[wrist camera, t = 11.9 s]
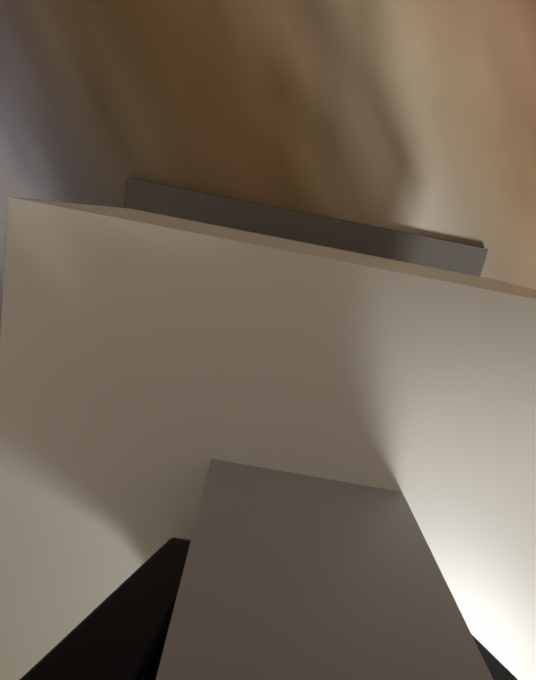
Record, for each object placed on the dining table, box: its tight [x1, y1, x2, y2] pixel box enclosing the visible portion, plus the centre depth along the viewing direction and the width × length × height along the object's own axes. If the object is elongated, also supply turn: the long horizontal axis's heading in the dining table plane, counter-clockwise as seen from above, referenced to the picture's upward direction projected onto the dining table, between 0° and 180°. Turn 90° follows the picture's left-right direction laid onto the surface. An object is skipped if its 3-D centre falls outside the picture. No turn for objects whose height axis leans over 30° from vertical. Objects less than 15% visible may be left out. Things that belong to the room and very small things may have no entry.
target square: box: [125, 178, 488, 277], centre depth 17 cm, size 12×12×1 cm
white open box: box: [0, 197, 536, 680], centre depth 9 cm, size 10×10×10 cm
